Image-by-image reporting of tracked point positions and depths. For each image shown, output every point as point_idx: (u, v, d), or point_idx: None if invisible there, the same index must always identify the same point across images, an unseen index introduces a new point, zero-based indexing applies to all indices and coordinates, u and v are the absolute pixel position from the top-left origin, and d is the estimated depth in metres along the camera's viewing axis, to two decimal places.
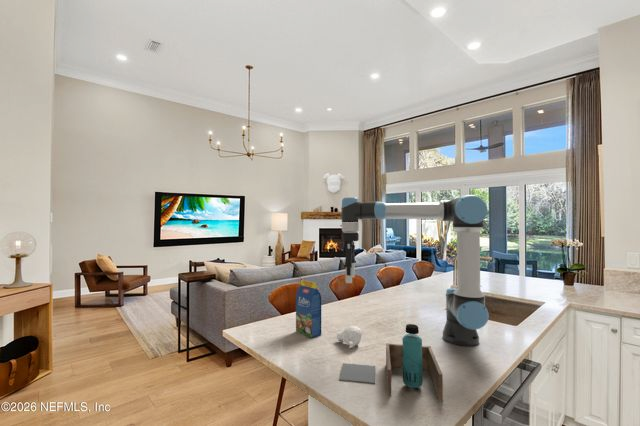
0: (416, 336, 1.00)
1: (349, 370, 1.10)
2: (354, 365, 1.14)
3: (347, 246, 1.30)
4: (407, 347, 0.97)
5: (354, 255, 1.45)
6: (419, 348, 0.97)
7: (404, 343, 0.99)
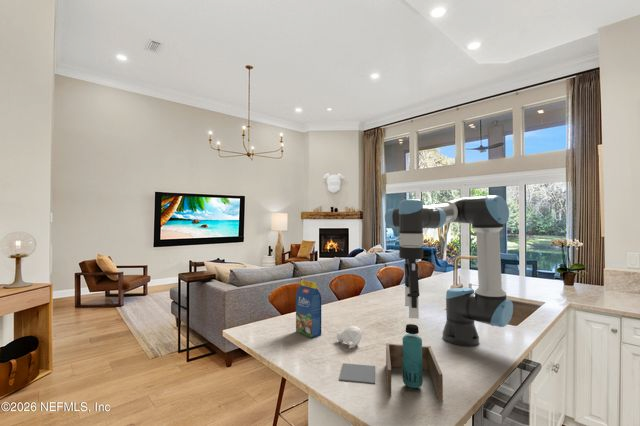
0: (416, 336, 1.00)
1: (349, 370, 1.10)
2: (354, 365, 1.14)
3: (411, 267, 0.94)
4: (407, 347, 0.97)
5: None
6: (419, 348, 0.97)
7: (404, 343, 0.99)
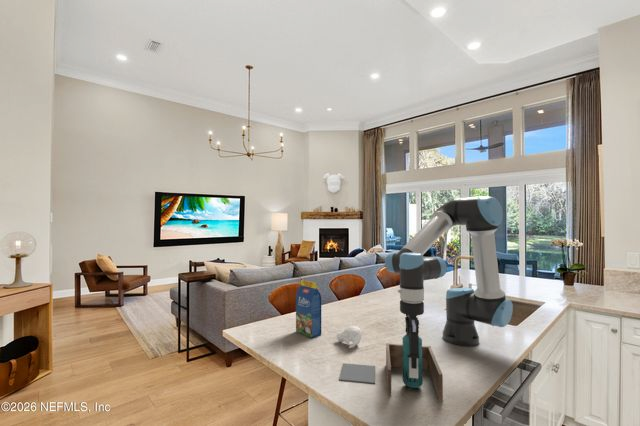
0: None
1: (349, 370, 1.10)
2: (354, 365, 1.14)
3: (412, 329, 0.94)
4: (407, 346, 0.97)
5: None
6: (419, 348, 0.97)
7: (404, 343, 0.99)
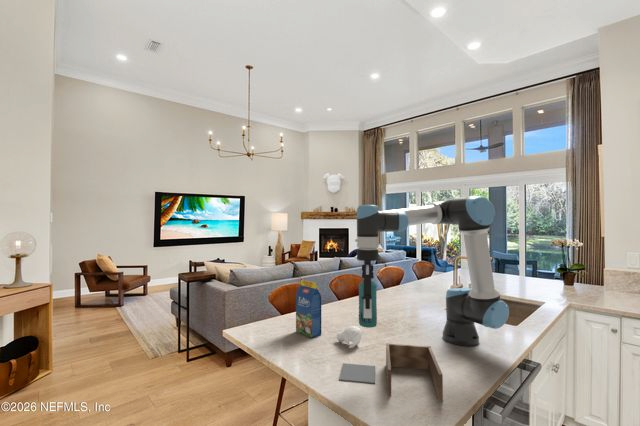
0: (371, 281, 1.07)
1: (349, 370, 1.10)
2: (354, 365, 1.14)
3: (365, 272, 1.01)
4: (362, 290, 1.05)
5: None
6: (373, 291, 1.05)
7: (360, 287, 1.06)
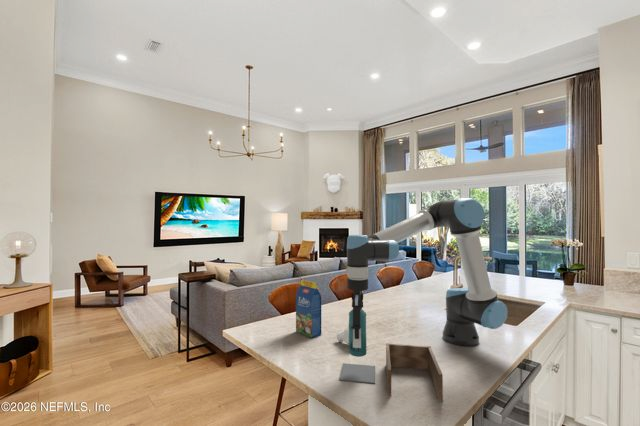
0: (361, 310, 1.09)
1: (349, 370, 1.10)
2: (354, 365, 1.14)
3: (354, 303, 1.03)
4: (352, 319, 1.07)
5: None
6: (362, 321, 1.07)
7: (350, 317, 1.08)
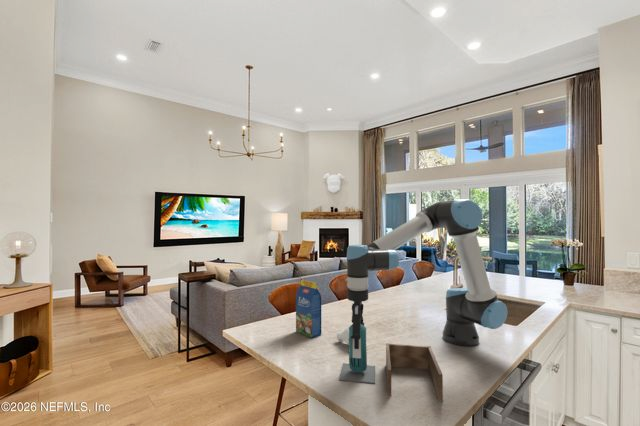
0: (361, 325, 1.09)
1: (349, 370, 1.10)
2: None
3: (354, 311, 1.03)
4: None
5: None
6: (362, 336, 1.06)
7: (350, 332, 1.08)
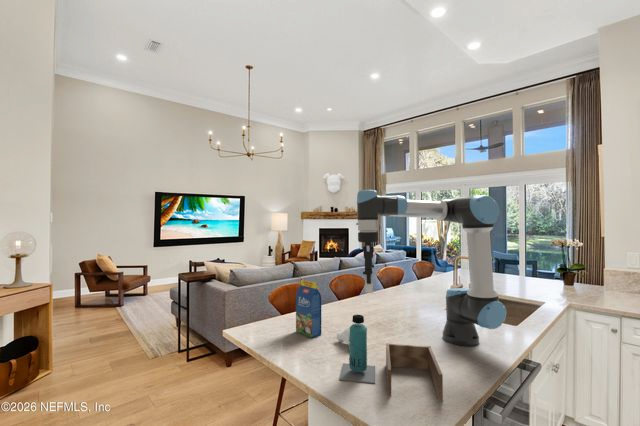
0: (362, 325, 1.09)
1: (349, 370, 1.10)
2: None
3: (366, 248, 1.08)
4: (352, 335, 1.07)
5: None
6: (363, 336, 1.06)
7: (350, 332, 1.08)
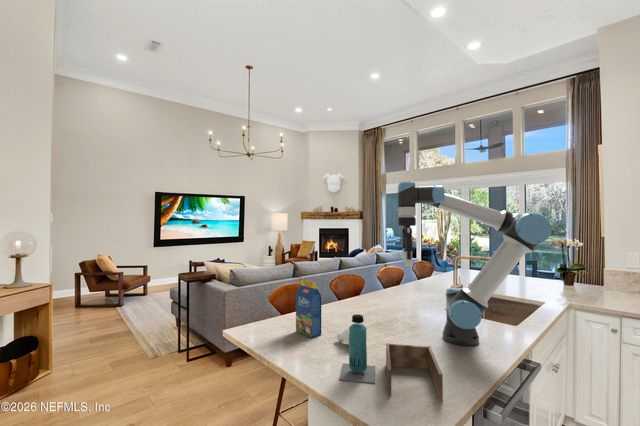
0: (361, 325, 1.09)
1: (349, 370, 1.10)
2: None
3: (407, 230, 1.29)
4: (352, 334, 1.07)
5: None
6: (363, 336, 1.07)
7: (350, 331, 1.08)
